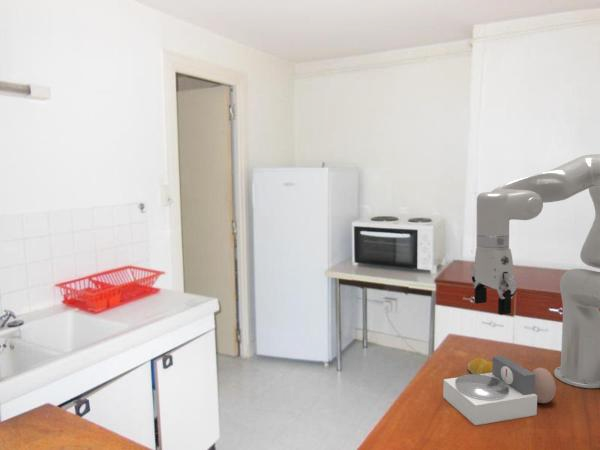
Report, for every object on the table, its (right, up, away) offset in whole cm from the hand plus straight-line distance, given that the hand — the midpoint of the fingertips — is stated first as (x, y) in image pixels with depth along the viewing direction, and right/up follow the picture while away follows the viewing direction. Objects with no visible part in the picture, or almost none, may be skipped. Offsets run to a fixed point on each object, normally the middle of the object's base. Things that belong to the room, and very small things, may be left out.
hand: (492, 308), depth 115 cm
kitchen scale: (-1, -25, +1) cm, 25 cm away
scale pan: (-3, -20, 0) cm, 20 cm away
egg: (+13, -25, +2) cm, 28 cm away
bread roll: (+6, -23, +20) cm, 31 cm away
